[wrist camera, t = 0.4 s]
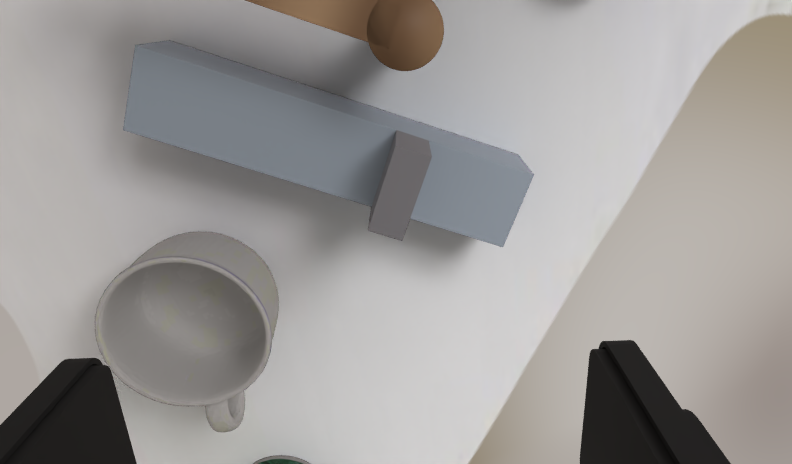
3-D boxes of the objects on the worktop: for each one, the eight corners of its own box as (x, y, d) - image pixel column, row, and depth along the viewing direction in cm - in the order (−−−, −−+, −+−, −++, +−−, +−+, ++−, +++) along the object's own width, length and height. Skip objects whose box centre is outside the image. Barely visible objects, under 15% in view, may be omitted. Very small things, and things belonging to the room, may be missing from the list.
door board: (169, 40, 36) (99, 50, 28) (518, 154, 39) (550, 195, 30) (157, 115, 38) (87, 145, 30) (491, 219, 40) (514, 275, 32)
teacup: (135, 215, 41) (75, 261, 33) (285, 213, 40) (259, 259, 33) (167, 377, 46) (121, 448, 38) (300, 376, 46) (281, 447, 38)
